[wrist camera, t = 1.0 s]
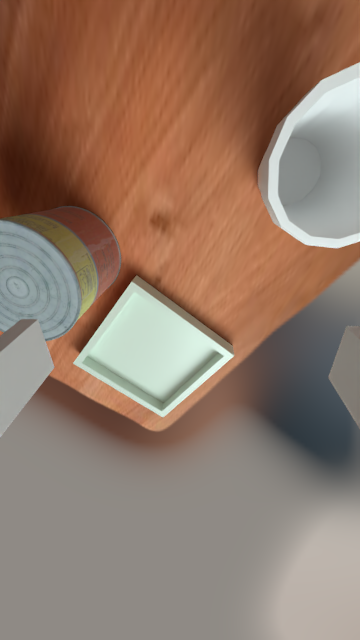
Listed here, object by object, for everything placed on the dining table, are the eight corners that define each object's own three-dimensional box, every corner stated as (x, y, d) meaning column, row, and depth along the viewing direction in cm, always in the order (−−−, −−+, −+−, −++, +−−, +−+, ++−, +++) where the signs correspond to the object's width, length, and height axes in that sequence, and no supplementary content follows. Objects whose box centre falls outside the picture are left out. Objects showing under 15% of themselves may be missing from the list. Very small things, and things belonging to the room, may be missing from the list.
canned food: (24, 263, 34) (-58, 299, 24) (52, 184, 29) (-35, 186, 19) (98, 308, 36) (54, 360, 26) (137, 243, 31) (101, 274, 21)
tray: (79, 354, 41) (73, 363, 39) (136, 275, 33) (131, 281, 31) (165, 406, 44) (163, 417, 42) (232, 345, 37) (234, 355, 35)
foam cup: (252, 233, 30) (281, 265, 18) (231, 143, 26) (251, 113, 14) (341, 202, 27) (438, 216, 16) (333, 97, 23) (453, 18, 12)
